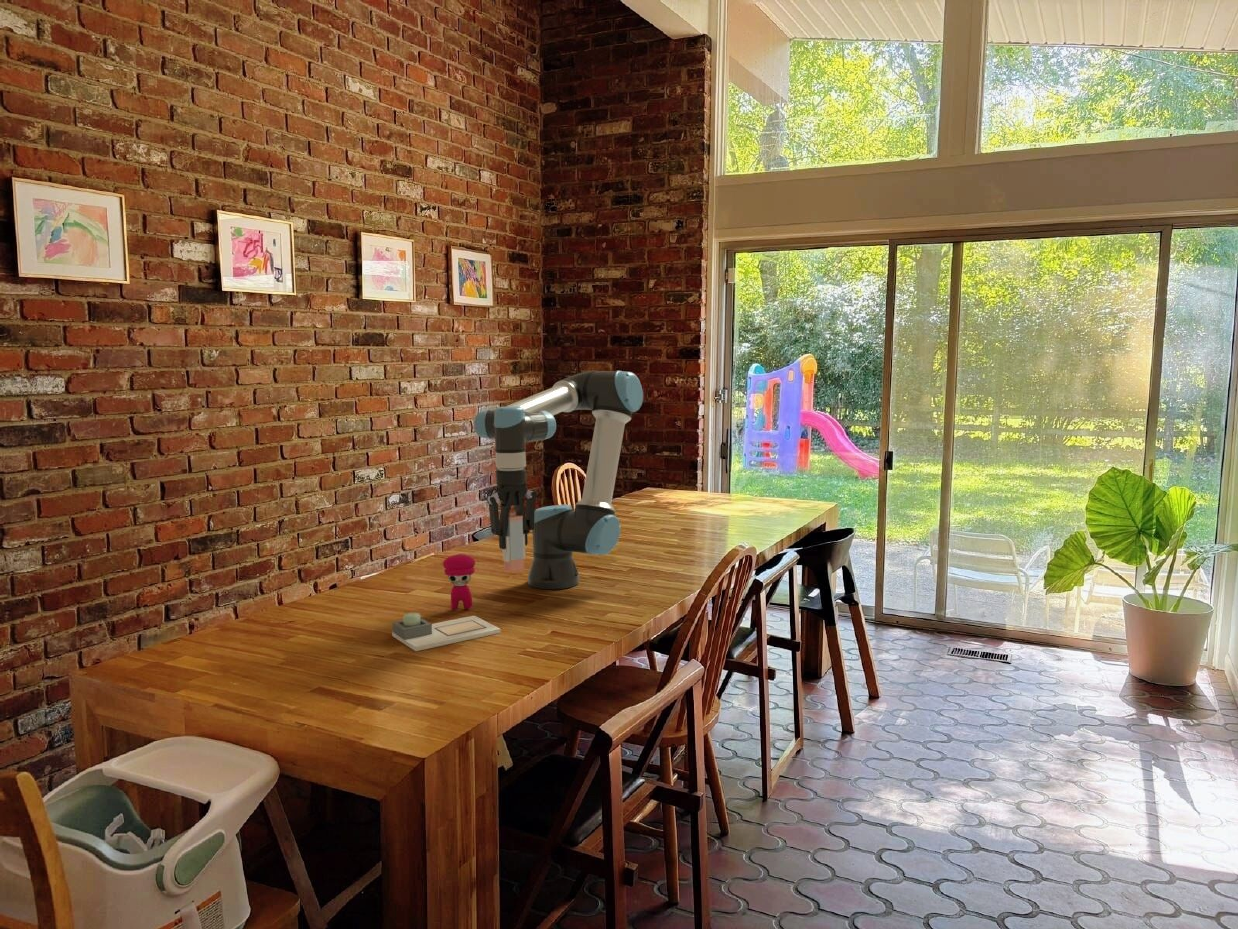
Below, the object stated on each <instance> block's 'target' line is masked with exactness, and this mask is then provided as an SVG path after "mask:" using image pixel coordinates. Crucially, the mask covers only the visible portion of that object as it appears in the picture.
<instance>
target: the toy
mask: <svg viewBox="0 0 1238 929" xmlns="http://www.w3.org/2000/svg"><path fill="white" fill-rule="evenodd" d="M475 565H476V560H475V558H473V557H472V556H470V555H467V554H462V553H461V554H453V555H450V556H448V557H446V558H445V559H444V560H443V562H442V566H443V567H444V574H445V575H446V576H447V580H448V581H449V583H450V584H451V585H453V587H452V588H451V591H450V608H451V610H457V609H458V608H459V603H460V602H462V604H463V608H464V610H470V609H471V608H472V607H473V596H472V592H471V590H470V587H469V586H468V584H469V583H470V581H471V579H472V575H473V574H474V573H475V568H474V567H475Z"/></svg>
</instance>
